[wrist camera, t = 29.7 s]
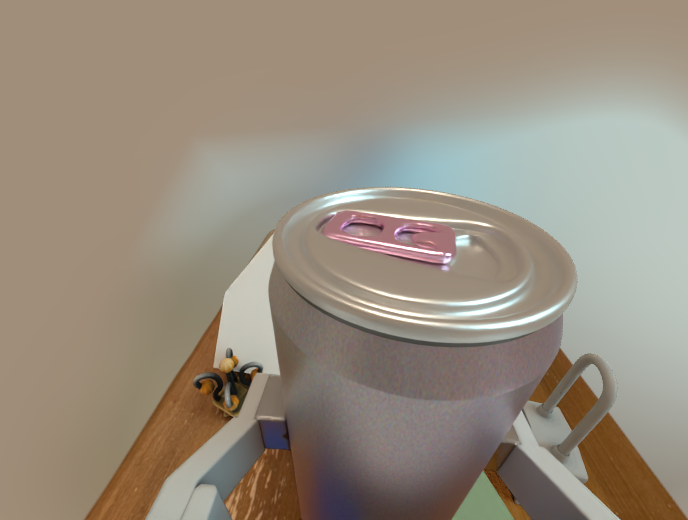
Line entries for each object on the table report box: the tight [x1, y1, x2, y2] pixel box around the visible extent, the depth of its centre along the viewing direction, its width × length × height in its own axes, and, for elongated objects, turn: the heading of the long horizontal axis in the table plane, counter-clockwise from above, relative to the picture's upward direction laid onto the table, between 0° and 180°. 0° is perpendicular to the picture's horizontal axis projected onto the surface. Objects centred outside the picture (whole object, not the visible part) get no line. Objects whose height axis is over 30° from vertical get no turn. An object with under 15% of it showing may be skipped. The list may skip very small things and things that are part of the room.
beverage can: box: [268, 187, 577, 520], centre depth 10 cm, size 6×6×15 cm
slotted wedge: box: [213, 235, 280, 375], centre depth 36 cm, size 14×11×18 cm
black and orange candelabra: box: [193, 348, 263, 418], centre depth 29 cm, size 5×5×8 cm
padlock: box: [512, 354, 618, 505], centre depth 23 cm, size 7×4×15 cm, turn 166°
